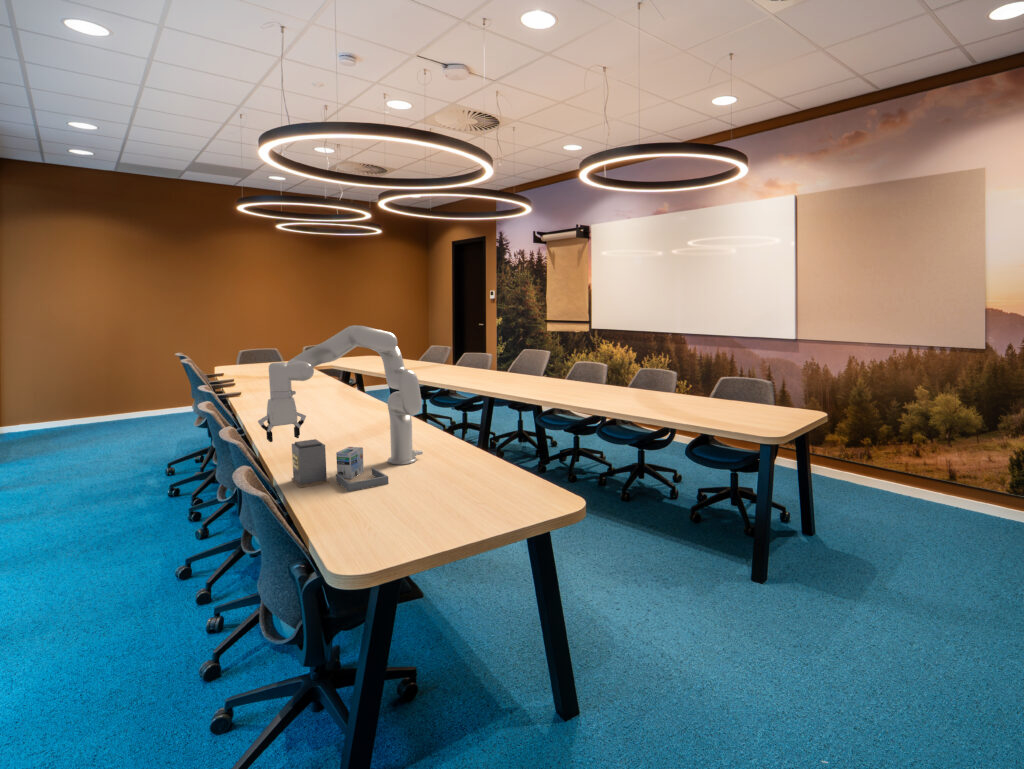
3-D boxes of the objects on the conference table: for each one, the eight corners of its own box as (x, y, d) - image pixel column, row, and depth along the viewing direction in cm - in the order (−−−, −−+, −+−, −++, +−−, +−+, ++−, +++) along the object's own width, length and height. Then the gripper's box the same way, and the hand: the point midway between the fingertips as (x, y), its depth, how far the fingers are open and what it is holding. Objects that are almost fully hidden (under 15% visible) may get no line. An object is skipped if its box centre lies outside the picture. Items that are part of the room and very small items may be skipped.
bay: (373, 474, 222) (373, 467, 221) (388, 483, 210) (388, 476, 209) (335, 481, 213) (335, 474, 212) (349, 491, 201) (348, 483, 200)
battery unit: (319, 475, 221) (317, 437, 219) (329, 482, 211) (327, 443, 209) (291, 480, 214) (289, 441, 212) (299, 488, 204) (297, 447, 202)
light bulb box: (352, 479, 215) (350, 453, 214) (336, 478, 217) (335, 452, 215) (364, 472, 226) (363, 446, 224) (349, 471, 227) (348, 446, 226)
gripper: (300, 391, 211) (303, 434, 214) (253, 396, 200) (256, 441, 203) (307, 394, 206) (310, 437, 208) (259, 398, 195) (262, 444, 197)
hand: (283, 439), depth 205 cm, fingers open, 9 cm apart
